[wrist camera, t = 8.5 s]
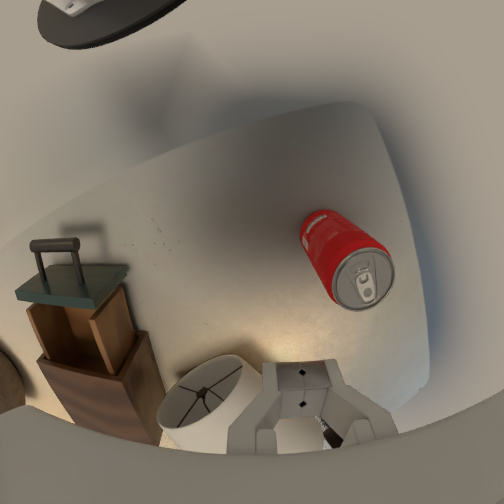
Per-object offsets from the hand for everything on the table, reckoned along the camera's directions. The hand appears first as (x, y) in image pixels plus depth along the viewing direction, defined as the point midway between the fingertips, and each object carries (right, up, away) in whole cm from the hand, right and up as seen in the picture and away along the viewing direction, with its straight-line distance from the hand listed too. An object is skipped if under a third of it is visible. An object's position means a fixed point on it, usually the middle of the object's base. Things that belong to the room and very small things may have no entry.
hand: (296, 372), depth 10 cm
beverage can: (+6, +7, +18) cm, 20 cm away
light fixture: (+3, -20, +28) cm, 35 cm away
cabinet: (-22, -13, +25) cm, 36 cm away
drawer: (-22, -1, +20) cm, 30 cm away
